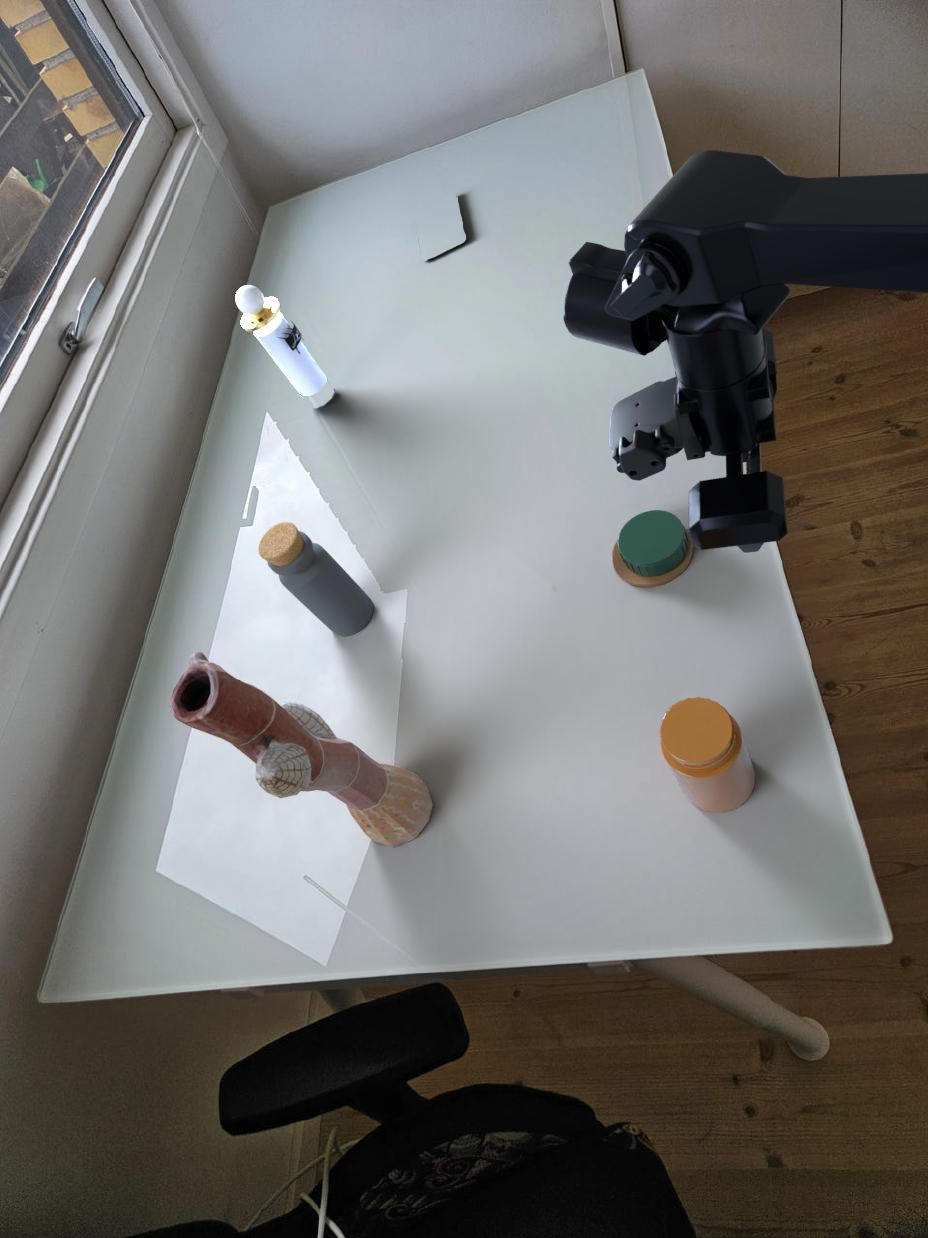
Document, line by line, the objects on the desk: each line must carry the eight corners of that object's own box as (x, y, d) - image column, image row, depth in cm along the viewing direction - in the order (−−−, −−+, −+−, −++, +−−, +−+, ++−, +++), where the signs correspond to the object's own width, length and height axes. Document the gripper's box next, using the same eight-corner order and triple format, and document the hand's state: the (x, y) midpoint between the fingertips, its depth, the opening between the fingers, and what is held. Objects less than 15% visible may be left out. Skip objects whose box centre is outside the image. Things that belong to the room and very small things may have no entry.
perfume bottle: (304, 419, 118) (218, 310, 103) (310, 392, 121) (227, 281, 106) (338, 409, 116) (255, 295, 101) (343, 381, 119) (264, 267, 104)
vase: (365, 777, 82) (161, 630, 59) (431, 760, 79) (246, 600, 56) (365, 882, 75) (138, 763, 53) (437, 867, 73) (232, 736, 50)
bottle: (321, 618, 96) (244, 545, 84) (358, 585, 96) (286, 508, 85) (344, 646, 92) (266, 573, 80) (382, 611, 92) (310, 534, 81)
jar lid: (624, 527, 84) (618, 514, 82) (689, 519, 81) (684, 505, 79) (621, 580, 81) (615, 568, 79) (688, 573, 78) (684, 560, 76)
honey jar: (771, 775, 66) (756, 725, 58) (720, 828, 65) (698, 784, 58) (714, 730, 70) (693, 678, 62) (665, 780, 69) (638, 733, 61)
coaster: (710, 546, 79) (709, 543, 79) (650, 601, 79) (649, 598, 78) (653, 509, 84) (652, 505, 84) (597, 560, 84) (595, 557, 83)
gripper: (607, 295, 61) (652, 435, 73) (591, 487, 52) (645, 611, 64) (762, 255, 57) (784, 411, 69) (775, 458, 48) (797, 598, 60)
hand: (749, 503), depth 65 cm, fingers open, 9 cm apart
